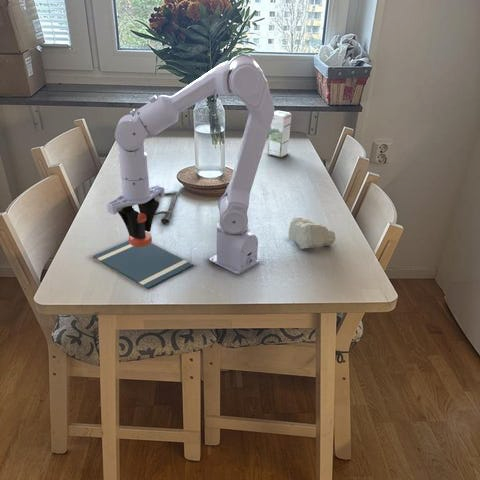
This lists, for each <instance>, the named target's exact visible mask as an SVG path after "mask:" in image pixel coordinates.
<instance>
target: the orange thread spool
mask: <svg viewBox="0 0 480 480" xmlns="http://www.w3.org/2000/svg"><path fill="white" fill-rule="evenodd" d="M146 220H147V217H146V215H145V214H143V213H140V212H139V214H138V219H137V232H138V234H137V237H136V238H134V237H132V236H130V235H129V234H128V241H129V243H130V244H131V245H132V246H135V247H144V246H148V245H150V244H151V243H152V242H153V237H152V233H150V232H147V231H145V221H146ZM152 244H153V243H152Z"/></svg>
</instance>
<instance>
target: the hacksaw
mask: <svg viewBox="0 0 480 480" xmlns="http://www.w3.org/2000/svg"><path fill="white" fill-rule="evenodd" d="M164 196H172V197H171V200H170V203H169V205H168V209H167V210H166V211H165V210H164V211H163V210H161V211H160V210H159V211H156V212H155V214H154V216H157V215H165V216H164V217H162V218H161V219H160V222H161V223H162V224H164V225H166V224H170V217H171V214H172V211H173V210H174V207H175V203H176V200H177V197H178V196H179V191H173V192H165V195H164ZM159 199H160V196H158V197H155V200H156V201H158V202H159Z"/></svg>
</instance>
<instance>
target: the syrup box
mask: <svg viewBox="0 0 480 480" xmlns="http://www.w3.org/2000/svg"><path fill="white" fill-rule="evenodd" d="M291 122H292V113H291V112H288V111H283V110H275V112H274V117H273V120H272V123H271V126H270V130H269V133H268V143H267V155H269V156H274V157H277V158H283V157H284V156H287V155H289V144H290V133H291Z"/></svg>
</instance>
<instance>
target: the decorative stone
mask: <svg viewBox="0 0 480 480" xmlns="http://www.w3.org/2000/svg"><path fill="white" fill-rule="evenodd" d="M336 237H337V236H336V234H335V232H334V231H333V230H332V229H328V227H326V226H325V225H324V224H321V223H320V222H319V223H318V222H314V221H311V220H309V219H308V218H305V217H294V218H292V219H291V221H290V222H289V227H288V238H289V239H290V240H291V241H292V242H294V243H296V244H297V245H298V246H299V247H300V249H301V250H303V249H308V248H309V249H310V248H321V247H322V246H325V247H330V246H332V245H333V244H334V243H335V241H336Z"/></svg>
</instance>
